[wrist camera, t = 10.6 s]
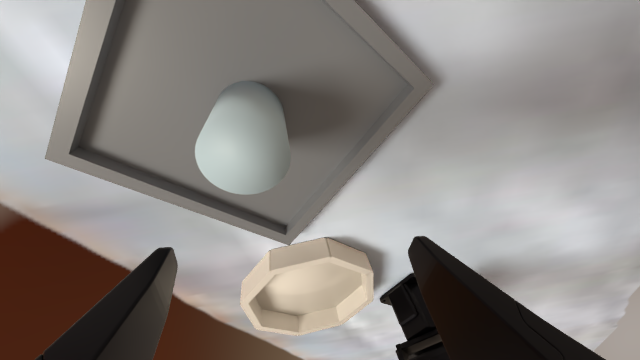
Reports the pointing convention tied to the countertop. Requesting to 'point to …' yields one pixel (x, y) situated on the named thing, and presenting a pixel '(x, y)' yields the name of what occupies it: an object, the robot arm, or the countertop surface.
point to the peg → (244, 140)
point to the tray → (208, 83)
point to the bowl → (307, 287)
